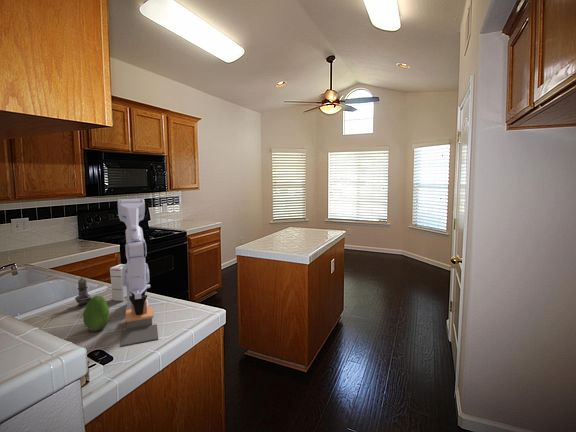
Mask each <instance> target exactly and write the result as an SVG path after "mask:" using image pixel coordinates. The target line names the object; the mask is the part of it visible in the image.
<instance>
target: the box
mask: <svg viewBox="0 0 576 432" xmlns="http://www.w3.org/2000/svg"><path fill="white" fill-rule="evenodd" d="M148 325H153V318H148V319H142V320H136V321H130V322H126V329H131V328H137V327H142V326H148Z"/></svg>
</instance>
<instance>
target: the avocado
mask: <svg viewBox="0 0 576 432" xmlns="http://www.w3.org/2000/svg"><path fill="white" fill-rule="evenodd" d="M84 308H85V309H84V310H83V311H84V312H83V315H82V319H83V323H84V325H85V327H86V328H87V329H88V330H90V331H91V332H92V331H95V332H96V331H101V330H102V329H104V328H105V327H106V326H107V325H108V323H109V320H110V308H109V306H108V303H107V301H106V300H105V298H104V296H102V295H96V296H92V297H91V299H90V300H89V302H88V304H87V306H86V307H84Z"/></svg>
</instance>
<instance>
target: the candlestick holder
mask: <svg viewBox="0 0 576 432" xmlns="http://www.w3.org/2000/svg"><path fill="white" fill-rule="evenodd" d="M77 283H78V287H77V290H78V295H77V296H75V297H74V299H75V302H76V303H77V305H76V308H78V309H83V308H86V306H87V304H88V302H89V300H90V299H91V298H92V297H93V296H92V294H90V293H88V292H89V291H88V288H89V287H88V286H87V285H88V284H87V283H88V282H87V280H86V279H85V278H83V276H81V277H80V279H79V280H78V282H77Z"/></svg>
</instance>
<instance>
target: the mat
mask: <svg viewBox="0 0 576 432" xmlns="http://www.w3.org/2000/svg"><path fill="white" fill-rule="evenodd" d="M158 332H159V331H158V324H157V323H155V324H152V325H148V326H142V327H137V328H131V329H127V328H125V329H122V331H121V338H120V339H121V340H120V347H125V346H130V345H131V346H132V345H136V344H141V343H146V342H152V341H158V340H159V333H158Z"/></svg>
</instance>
